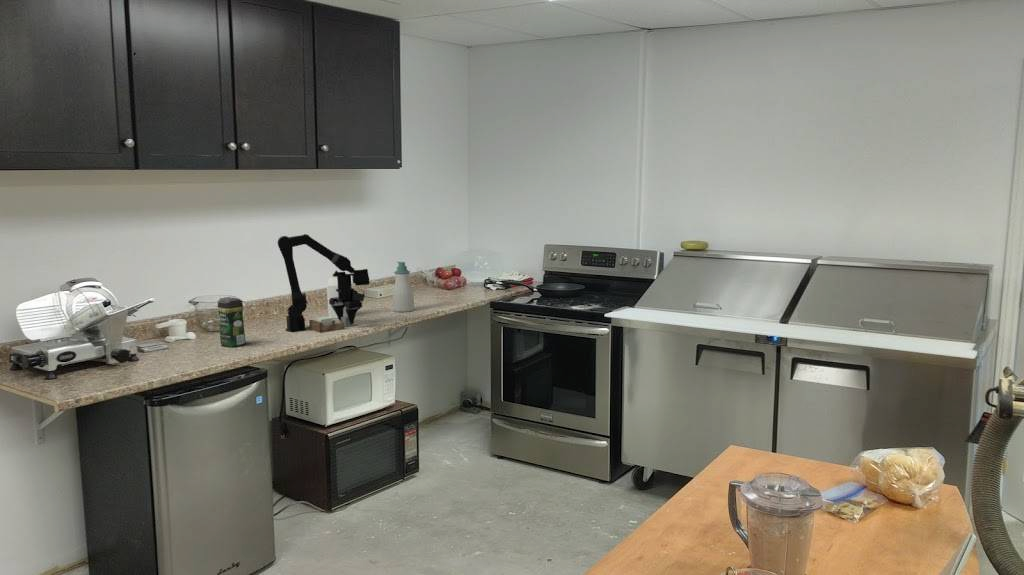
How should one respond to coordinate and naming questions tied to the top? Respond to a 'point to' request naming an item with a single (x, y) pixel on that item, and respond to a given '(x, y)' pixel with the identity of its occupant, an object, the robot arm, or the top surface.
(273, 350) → the top surface
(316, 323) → the walnut lane
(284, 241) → the robot arm
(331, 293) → the milk carton
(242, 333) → the coffee jar
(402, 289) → the soap bottle
